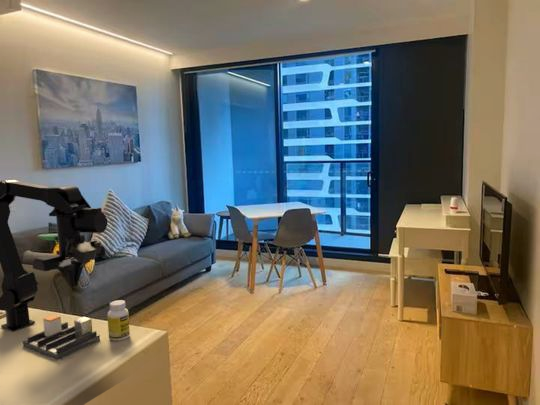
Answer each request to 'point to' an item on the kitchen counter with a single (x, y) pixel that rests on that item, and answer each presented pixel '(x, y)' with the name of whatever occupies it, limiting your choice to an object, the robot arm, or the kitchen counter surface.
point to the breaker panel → (64, 339)
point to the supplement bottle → (118, 321)
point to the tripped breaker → (52, 325)
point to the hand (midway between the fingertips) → (73, 286)
